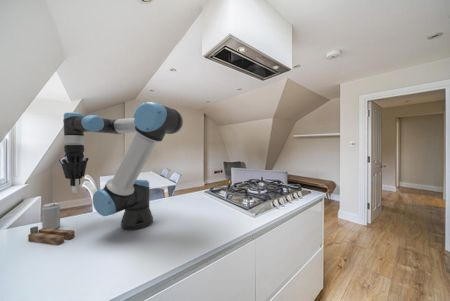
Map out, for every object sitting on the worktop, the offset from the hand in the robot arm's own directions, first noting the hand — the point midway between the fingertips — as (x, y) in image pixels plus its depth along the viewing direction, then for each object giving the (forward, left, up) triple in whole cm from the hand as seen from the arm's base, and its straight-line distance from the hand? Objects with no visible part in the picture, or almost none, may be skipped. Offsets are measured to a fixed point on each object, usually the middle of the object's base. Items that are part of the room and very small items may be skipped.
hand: (75, 192), depth 89 cm
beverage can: (+11, +3, -18) cm, 22 cm away
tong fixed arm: (0, +12, -18) cm, 22 cm away
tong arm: (-1, +9, -18) cm, 20 cm away
